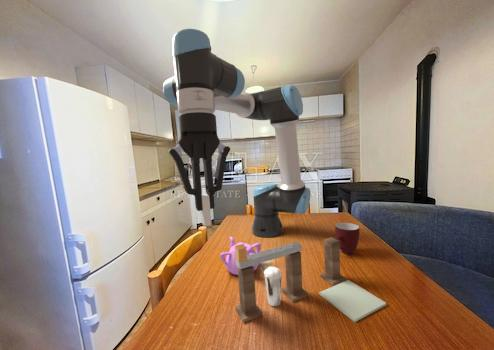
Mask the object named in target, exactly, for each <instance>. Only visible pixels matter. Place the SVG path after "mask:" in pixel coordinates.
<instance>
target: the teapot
mask: <svg viewBox="0 0 494 350" xmlns="http://www.w3.org/2000/svg"><path fill="white" fill-rule="evenodd" d="M228 238H229V240H230V248H229V251H224V252H221V253H220V254H219V257H220V260H221V261H222V263H223V264H224V265H225V268H226V270H227V271H228V272H229V273H230V274H232V275H235V276H238V267H237V266H236V259H235V246H237V245H241V244H243V245H244V246H245V247H246V252H247V255H250V254H254V253H258V252H261V248H262V244H261V243H260V242H256V243H254V244H252V245H250V244H249V243H244V242H242V241H240V242H238V243H235V240H234V237H232V236H231V235H229V237H228ZM254 248H256V250H255V249H254ZM259 265H260V264H256V265H253V267H254V272H255V271H256V270H257V269H258V268H259Z"/></svg>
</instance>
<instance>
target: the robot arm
mask: <svg viewBox="0 0 494 350" xmlns="http://www.w3.org/2000/svg"><path fill="white" fill-rule="evenodd" d="M171 58H172V59H173V69H174V70H173V71H174V75H173V76H172V77H170V78H168V79H166V80H165V81H164V82H163V85H162V91H163V92H162V93H163V96H164V98H165V100H166V101H167V102H168V104H170V105H172V106H173V107H177V111H178V113H179V114H180V115H179V116H178V122H179V132H180V133H179V134H180V137H179V140H178V144H177V145H176V146H174V147H173V148H171V149H169V150H168V154H169V156H170V157H171V158H172V159H173V160H174V163H175V166H176V168H177V171H178V173H179V177H180V179H181V183H182V186H183V189H184V191H185V193H187V194H188V195H190V196H191V195H192V196H194V202H195V203H194V205H195V209H196V211H198V212H200V217H201V219H200V220H201V224H202V226H204V227H210V226H212V214H211V210H212V209H215V197H214V196H215V194H216V192H218V191H221V190H222V188H223V182H224V177H225V176H224V175H225V169H226V162H227V157H228V155H229V153H230V151H231V147H230V146H229V145H225V144H224V143H221V140H220V138H219V136H218V131H217V130H218V129H217V128H218V127H217V115H216V114H214V113H215V112H216V111H221V112H224V113H225V112H226V113H231V114H236V115H237V116H238V117H239V118H242V119H244V118H245V119H248V120H254V121H269V123H270V126H271V127H273V128H274V133H275V134H274V135H275V141H276V150H277V158H278V165H279V174H280V181H281V182H280V183H279V184H277V183H268V184H267V183H266V184H262V185H258V186H255V187H254V188H253V192H252V193H253V196H252V198H253V209H254V211H253V212H254V218H253V223H252V227H251V232H252V234H253V235H254V236H257V237H260V238H273V237H278V236H280V235H281V234H283V232H284V226H283V224H282V222H281V217H280V216H279V213H283V214H295V215H304V214H306V213H307V211H308V210H309V208H310V207H309V206H310V204H311V203H310V202H311V189H310V188H309V187H306V183H305V182H304V181H303V180H302V175H301V166H300V165H301V164H300V157H299V156H300V155H299V145H298V137H297V136H298V133H297V123H298V122H299V121H300V116H301V115H302V114H303V113H304V107H303V106H304V104H303V99H302V95H301V93H300V91H299V89H298V87H296V86H295V85H293V84H292V85H291V84H290V85H283V86H279V87H274V88H270V89H267V90H261V91H257V92H253V93H252V92H251V93H250V92H243V91H244V88H245V85H246V78H245V75H244V74H243V72H242V71H241V70H240V69H239V68H238V67H236V66H235V65H234V64H232V63H230V62H228V61H226V60H224V59H222V58H220V57H218V56H217V55H216V54H214V53H213V52H212V45H211V41H210V38H209V36H208V34H207V33H205V32H204V31H202V30H200V29H197V28H184V29H181V30H180V31H177V32H176V33H175V34H174V35H173V37H172V57H171ZM182 151H183V153H185V155H186V156H188V158H190V165H191V175H192V185H193V187H192V185H191V181H190V179H189V176H188V172H187V169H186V167H185V164H184V160H183V159H182V155H183V153H182ZM216 151H217V153H218V156H217V161H216V166H215V167H216V168H215V173H214V176H213V156H214V154H215V153H216ZM201 159H202V164H203V172H204V173H203V174H204V175H203V176H204V184H205V185H204V186H205V193H203V189H202V188H203V187H202V180H201V179H202V177H201V166H200V165H201Z"/></svg>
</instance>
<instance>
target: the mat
mask: <svg viewBox="0 0 494 350" xmlns="http://www.w3.org/2000/svg"><path fill="white" fill-rule="evenodd" d="M318 294H319V295H320V296H321V297H322V298H323V299H325V300H326V301H327V302H328V303H330V304H331V305H332V306H334V308H336V309H337V310H339V311H340V312H341V313H342V314H344V315H345V316H346V317H347V318H349V319H350V320H351V321H353V323H356V322H358V321H359V320H362V319H363V318H365V317H367V316H369V315H371V314H372V313H374V312H376V311H378V310H380V309H382V308H384V307H386V306H387V302H386V301H384V300H382V299H380V298H379V297H377V296H376V295H374V294H373V293H370V292H369V291H368V290H366V289H364V288H363V287H361V286H359V285H357V283H354V282H352V281H351V280H349V279H347V280H345V281H342V282H340V283H337V284H335V285H332V286H331V287H328V288H327V289H323V290H322V291H321V290H320V291H319V292H318Z"/></svg>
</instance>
